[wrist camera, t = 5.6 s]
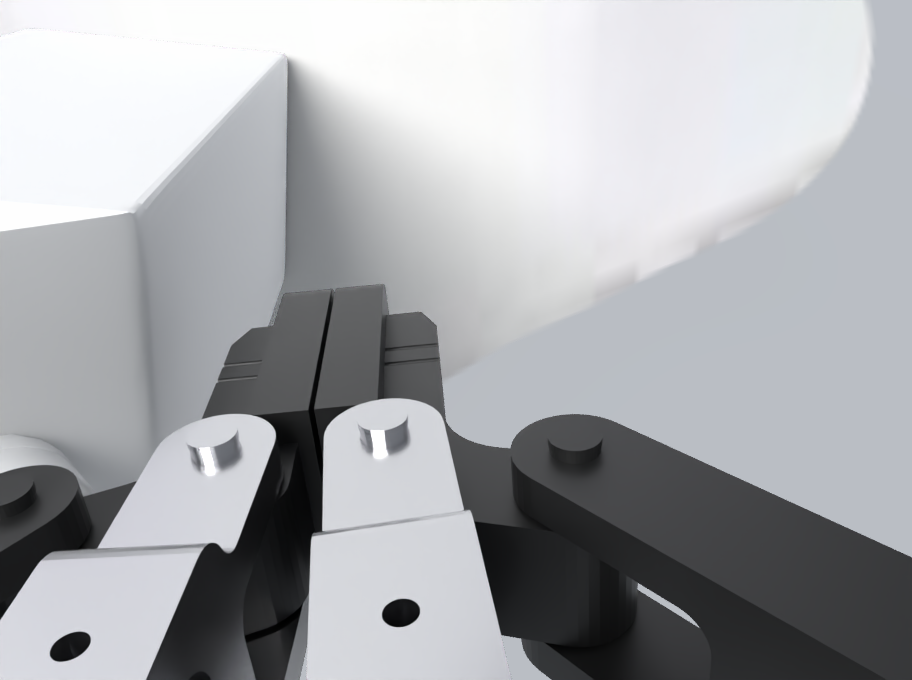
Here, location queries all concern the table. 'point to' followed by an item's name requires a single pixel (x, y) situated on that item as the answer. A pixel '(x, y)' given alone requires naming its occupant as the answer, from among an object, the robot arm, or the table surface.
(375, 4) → the table surface
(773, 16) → the table surface
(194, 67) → the milk carton
